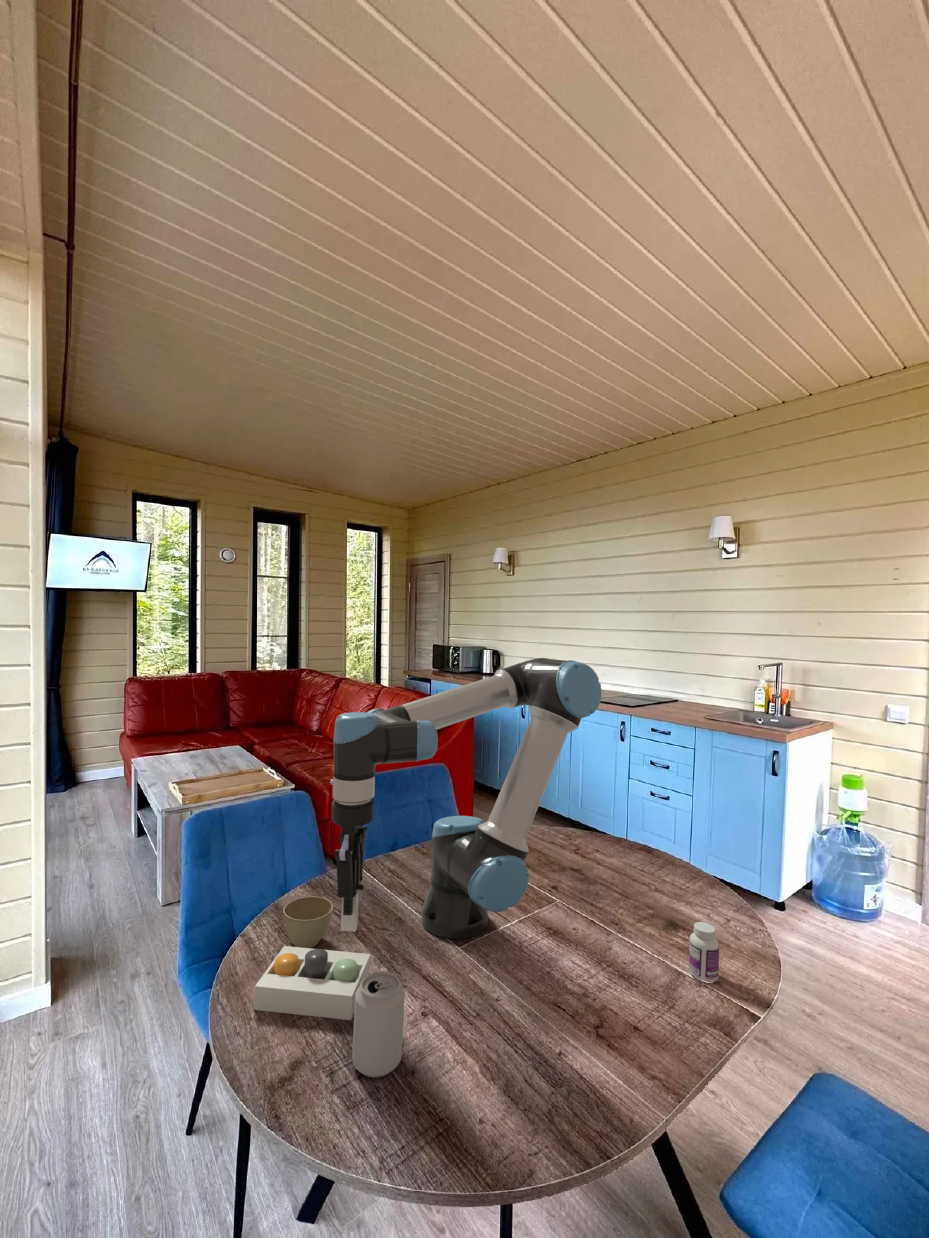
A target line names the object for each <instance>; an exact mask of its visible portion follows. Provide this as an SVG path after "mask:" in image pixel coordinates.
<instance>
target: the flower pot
mask: <svg viewBox="0 0 929 1238" xmlns="http://www.w3.org/2000/svg"><path fill="white" fill-rule="evenodd" d="M333 910H334V905H333V902H332V901H331V900H329V899H327V898H325V897H322V896H310V895H309V896H303V897H298V898H295V899H293V900H291V901H289V902H287V904H285V905H284V907H283V910H282V911H283V912H282V913H283V914H282V915H283V920H284V921H283V922H284V925H285V929H286V932H287V934H288V937H289V939H290V940H291V942H292V944H293V946H294V947H301V948H311V949H313V948H314V947H315V946H317V945H318V944H319V942H320V941H321V940H322V938H323V936H324V935H325V932H326V931H327V929H328V927H329V924H330V922H331V918H332V915H333Z"/></svg>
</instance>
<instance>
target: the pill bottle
mask: <svg viewBox="0 0 929 1238" xmlns="http://www.w3.org/2000/svg"><path fill="white" fill-rule="evenodd" d="M716 935H717V930H716V928H715V926H713V925H712V924H710V923H707V922H704V921H698V922H695V923H694V924H693V932H692V933H691V934H690V937H689V954H688V955H689V960H688V961H689V962H688V963H689V964H688V971H690V972H689V974H690V973H691V974H692V975H694V976H695V977H696V978H698V979H700V980H704V981H707V982H713V981H715V980H717V979H718V980H719V972H720V970H719V969H720V966H719V965H720V963H719V962H720V943H719V941H718V939H717V938H716ZM691 974H690V975H691ZM718 980H717V981H718Z"/></svg>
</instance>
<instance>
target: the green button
mask: <svg viewBox="0 0 929 1238" xmlns="http://www.w3.org/2000/svg"><path fill="white" fill-rule="evenodd" d="M356 978H357V963H356V961H354V960H352V959H342V960H339V961H338V962H336V964H335V966H334V981H344V982H354V983H355V982H356Z"/></svg>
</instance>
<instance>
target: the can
mask: <svg viewBox="0 0 929 1238" xmlns="http://www.w3.org/2000/svg"><path fill="white" fill-rule="evenodd" d="M404 1013H405V990H404V987H403V986H402V982H401V979H400V978H399V977H398V976H397V975H396V974H394V973H393V972H389V971H374V972H371V973H369V975H367V976H365V977H364V978H363V979H362V980H361V983H360V987H359V988H358V989H357V991H356V993H355V1010H354V1014H353V1033H352V1034H353V1036H352V1037H353V1038H352V1052H351V1053H352V1054H351V1055H352V1058H351V1059H352V1064H353V1066H354V1068H355V1069H356V1070H357V1071H358V1072H359V1073H361V1074H362V1075H363V1076H366V1077H368V1078H374V1079H375V1078H382V1077H384V1076H387V1075H389V1074H390V1073H391V1072H392V1071H393V1070H394V1069H396V1068H397V1067H398V1065H399V1064H400V1063H401V1060H402V1057H403V1056H402V1055H403V1037H404V1036H403V1035H404V1016H405V1015H404Z"/></svg>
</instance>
